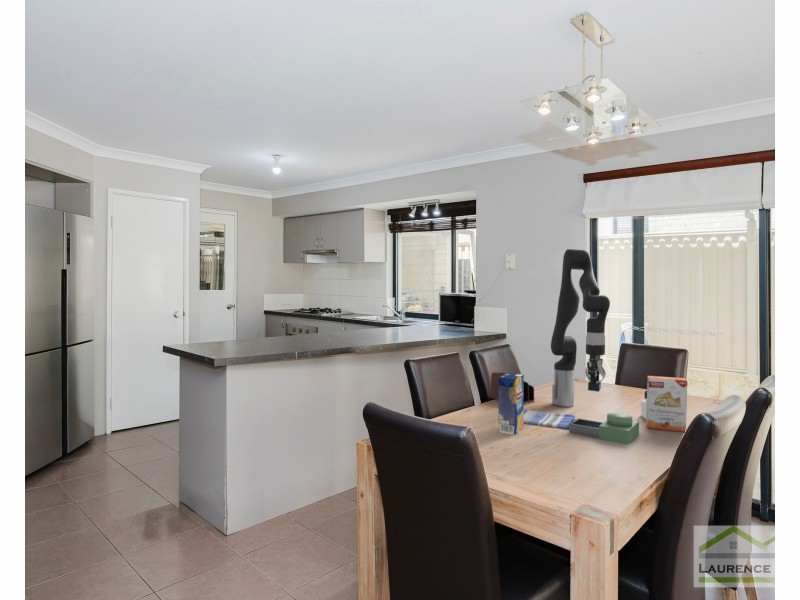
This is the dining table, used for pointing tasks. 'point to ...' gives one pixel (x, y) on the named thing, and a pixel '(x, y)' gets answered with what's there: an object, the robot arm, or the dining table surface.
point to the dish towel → (547, 419)
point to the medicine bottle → (644, 406)
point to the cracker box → (666, 403)
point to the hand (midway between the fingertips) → (594, 383)
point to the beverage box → (511, 403)
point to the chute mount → (585, 427)
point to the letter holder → (495, 388)
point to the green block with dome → (619, 428)
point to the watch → (598, 383)
